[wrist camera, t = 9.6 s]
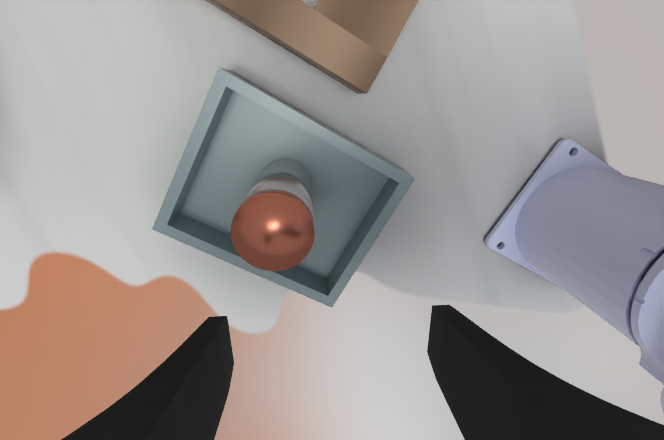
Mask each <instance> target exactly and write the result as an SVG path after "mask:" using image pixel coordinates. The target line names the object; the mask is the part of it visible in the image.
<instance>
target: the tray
mask: <svg viewBox="0 0 664 440" xmlns="http://www.w3.org/2000/svg"><path fill="white" fill-rule="evenodd" d="M283 158H287V159H293V160H296V161H298V162H299V163H301V164H302V165H304V166H305V167H306V168H307V170H308V171H309V173H310V175H311V177H312V181H313V203H314V231H315V235H314V242H313V246H312V248H311V250H310V252H309V254H308V255H307V256H306V257H305V258H304V260H302V261H301V262H300V263H299V264H297V265H296V266H294V267H291V268H289V269H286V270H281V271H267V270H262V269H259V268H256V267H254V266H252V265H250V264H249V263H247V262H246V261H245V260H244V259H242V258H241V256H240V255H239V254H238V253H237V251H236V250H235V248H234V246H233V243H232V240H231V233H230V229H231V223H232V219H233V217H234V215H235V213H236V212H237V210H238V208H239V207H240V205H241V204H242V202H243V200H244V199H245V197H246V196H247V194H248V192H249V191H250V189H251V188H252V186H253V185H254V183H255V181H256V180H257V178H258V177H259V175H260V173H261V172H262V170H263V169H264V168H265V166H267V165H268V164H269V163H270V162H272V161H274V160H277V159H283ZM413 181H414V178H413V177H412V176H410V175H409V174H408V173H407V172H405V171H404V170H403V169H401V168H399V167H398V166H396V165H394V164H392V163H391V162H389V161H387V160H385V159H384V158H382V157H380V156H378V155H377V154H375V153H373V152H371V151H370V150H368V149H366V148H365V147H363V146H361V145H359V144H358V143H356V142H354V141H352V140H351V139H349V138H347V137H345V136H344V135H342V134H340V133H338V132H337V131H335V130H333V129H331V128H330V127H328V126H326V125H324V124H323V123H321V122H319V121H317V120H316V119H314V118H312V117H310V116H309V115H307V114H305V113H303V112H302V111H300V110H298V109H296V108H295V107H293V106H291V105H289V104H288V103H286V102H284V101H282V100H281V99H279V98H277V97H275V96H274V95H272V94H270V93H268V92H267V91H265V90H263V89H261V88H260V87H258V86H256V85H254V84H253V83H251V82H249V81H247V80H246V79H244V78H242V77H240V76H239V75H237V74H235V73H233V72H232V71H229V70H226V69H222V68H219V69H218V72H217V74H216V76H215V79H214V81H213V84H212V86H211V88H210V91H209V93H208V96H207V98H206V100H205V103H204V105H203V108H202V110H201V113H200V115H199V117H198V120H197V122H196V125H195V127H194V129H193V132H192V134H191V137H190V139H189V141H188V144H187V146H186V149H185V151H184V154H183V156H182V158H181V161H180V163H179V166H178V168H177V170H176V173H175V175H174V178H173V180H172V182H171V185H170V187H169V190H168V192H167V195H166V197H165V199H164V202H163V204H162V207H161V209H160V211H159V214H158V216H157V219H156V221H155V223H154V226H153V228H152V229H153V230H155V231H158V232H160V233H162V234H165V235H167V236H169V237H172V238H174V239H176V240H178V241H181V242H183V243H185V244H188V245H190V246H192V247H194V248H197V249H199V250H201V251H204V252H206V253H208V254H211V255H213V256H215V257H217V258H220V259H222V260H224V261H227V262H229V263H231V264H233V265H236V266H238V267H240V268H243V269H245V270H247V271H249V272H252V273H254V274H256V275H259V276H261V277H263V278H266V279H268V280H270V281H272V282H275V283H277V284H279V285H282V286H284V287H286V288H288V289H291V290H293V291H296V292H298V293H300V294H302V295H305V296H307V297H309V298H311V299H314V300H316V301H318V302H321V303H323V304H325V305H327V306H330V307H333V305H334V303H335V302H336V300H337V299H338V297H339V296H340V294H341V293H342V291H343V289H344V288H345V286H346V285H347V283H348V282H349V280H350V279H351V277H352V275H353V274H354V272H355V271H356V269H357V268H358V266H359V265H360V263H361V261H362V260H363V258H364V257H365V255H366V254H367V252H368V251H369V249H370V247H371V246H372V244H373V243H374V241H375V240H376V238H377V237H378V235H379V233H380V232H381V230H382V229H383V227H384V226H385V224H386V223H387V221H388V219H389V218H390V216H391V215H392V213H393V212H394V210H395V209H396V207H397V205H398V204H399V202H400V201H401V199H402V198H403V196H404V195H405V193H406V191H407V190H408V188H409V187H410V185H411V184H412V182H413Z"/></svg>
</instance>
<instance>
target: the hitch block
mask: <svg viewBox="0 0 664 440" xmlns="http://www.w3.org/2000/svg"><path fill="white" fill-rule="evenodd" d="M206 1H208V2H210V3H211V4H213V5H214V6H216V7H218V8H219V9H221V10H223V11H224V12H226V13H228V14H229V15H231V16H232V17H234V18H236V19H237V20H239V21H241V22H242V23H244V24H246V25H247V26H249V27H250V28H252V29H254V30H255V31H257V32H259V33H260V34H262V35H264V36H265V37H267V38H268V39H270V40H272V41H273V42H275V43H277V44H278V45H280V46H282V47H283V48H285V49H286V50H288V51H290V52H291V53H293V54H295V55H296V56H298V57H300V58H301V59H303V60H304V61H306V62H308V63H309V64H311V65H313V66H314V67H316V68H318V69H319V70H321V71H322V72H324V73H326V74H327V75H329V76H331V77H332V78H334V79H336V80H337V81H339V82H340V83H342V84H344V85H345V86H347V87H349V88H350V89H352V90H354V91H355V92H357V93H367V92H368V90H369V89H370V87H371V85H372V83H373V81H374V80H375V78H376V76H377V74H378V72H379V71H380V69H381V67H382V65H383V63H384V62H385V60H386V58H387V56H388V54H389V52H390V51H391V49H392V47H393V45H394V43H395V42H396V40H397V38H398V36H399V34H400V33H401V31H402V29H403V27H404V25H405V24H406V22H407V20H408V18H409V16H410V15H411V13H412V11H413V9H414V7H415V5H416V4H417V2H418V0H319V2H318V4H317V6H316V8H315V10H314V9H313V8H311V7H310V6H308V5H307V4H305V3H304V2H302V1H301V0H206Z"/></svg>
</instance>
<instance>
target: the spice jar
mask: <svg viewBox="0 0 664 440" xmlns="http://www.w3.org/2000/svg"><path fill="white" fill-rule="evenodd" d="M230 233H231V240H232V243H233V246H234V248H235V250H236V251H237V253H238V254H239V255H240V256H241V258H242V259H244V260H245V261H246V262H247V263H249V264H250V265H252V266H254V267H256V268H259V269H262V270H267V271H281V270H286V269H289V268H291V267H294V266H296V265H297V264H299V263H300V262H301V261H302V260H304V258H305V257H306V256H307V255H308V254H309V252H310V250H311V248H312V246H313V242H314V235H315V231H314V203H313V181H312V177H311V175H310V173H309V171H308V170H307V168H306V167H305V166H304V165H302V164H301V163H299V162H298V161H296V160H293V159H287V158H283V159H277V160H274V161H272V162H270V163H269V164H268V165H267V166H265V168H264V169H263V170H262V172H261V173H260V175H259V177H258V178H257V180H256V181H255V183H254V185H253V186H252V188H251V189H250V191H249V192H248V194H247V196H246V197H245V199H244V200H243V202H242V204H241V205H240V207H239V208H238V210H237V212H236V213H235V215H234V217H233V219H232V223H231V229H230Z"/></svg>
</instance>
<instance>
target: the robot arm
mask: <svg viewBox="0 0 664 440" xmlns="http://www.w3.org/2000/svg"><path fill="white" fill-rule="evenodd" d="M572 148H573V152H572V153H571V154H569V151H570V150H571V149H572ZM500 242H502V243H501V245H500V246H499V247H497V245H498V243H500ZM485 244H486V245H487V246H488V247H489V248H490V249H492V250H494V251H496V252H498V253H499V254H501V255H503V256H505V257H507V258H509V259H510V260H512V261H514V262H516V263H518V264H520V265H521V266H523V267H525V268H527V269H529V270H530V271H532V272H534V273H536V274H538V275H540V276H541V277H543V278H545V279H547V280H549V281H551V282H552V283H554V284H556V285H558V286H560V287H562V288H563V289H565V290H566V291H567V292H569V293H570V294H571V295H573V296H574V297H575V298H577V299H578V300H579V301H580V302H582V303H583V304H584V305H586V306H587V307H588V308H590V309H591V310H592V311H594V312H595V313H596V314H598V315H599V316H600V317H601V318H603V319H604V320H606V321H607V322H608V323H609V324H611V325H612V326H613V327H615V328H616V329H617V330H619V331H620V332H621V333H622V334H624V335H625V336H626V337H628V338H629V339H630V340H632V341H633V342H634V343H636V344H637V345H638V346H639V347H640V349H641V359H640V363H639V364H640V366H642V367H643V368H644V369H645V370H647V371H648V372H649V373H650V374H651V375H653V376H654V377H655V378H656V379H658V380H659V381H660V382H661V383H662V384H664V186H663V185H659V184H656V183H651V182H648V181H644V180H640V179H636V178H632V177H628V176H624V175H622V174H621V173H620V172H618V171H617V170H615V169H614V168H612V167H611V166H609V165H608V164H606V163H605V162H604V161H602V160H601V159H599V158H598V157H596V156H595V155H593V154H592V153H590V152H589V151H588V150H586V149H585V148H583V147H582V146H580V145H579V144H577V143H576V142H575V141H573V140H571V139H562V140H560V141H559V142H558V143H557V144H556V146H555V147H554V148H553V150H552V151H551V152H550V154H549V155H548V156H547V158H546V159H545V160H544V162H543V163H542V164H541V166H540V167H539V168H538V170H537V171H536V172H535V174H534V175H533V176H532V178H531V179H530V180H529V182H528V183H527V184H526V186H525V187H524V188H523V190H522V191H521V192H520V193H519V195H518V196H517V197H516V199H515V200H514V201H513V203H512V204H511V205H510V207H509V208H508V209H507V211H506V212H505V213H504V215H503V216H502V217H501V219H500V220H499V221H498V223H497V224H496V225H495V227H494V228H493V229H492V231H491V232H490V233H489V235H488V236H487V237H486V239H485ZM427 352H428V356H429V359H430V362H431V365H432V368H433V371H434V374H435V377H436V380H437V382H438V384H439V386H440V388H441V390H442V392H443V394H444V397H445V399H446V401H447V403H448V405H449V407H450V410H451V412H452V413H453V416H454V418H455V420H456V422H457V424H458V426H459V428H460V430H461V433H462V434H463V437H464V439H465V440H664V425H662V424H659V423H656V422H654V421H651V420H649V419H646V418H644V417H642V416H639V415H637V414H634V413H632V412H629V411H627V410H625V409H622V408H620V407H618V406H615V405H613V404H611V403H609V402H606V401H604V400H602V399H599V398H598V397H596V396H593V395H591V394H589V393H587V392H585V391H583V390H581V389H579V388H577V387H575V386H573V385H571V384H569V383H567V382H565V381H563V380H562V379H560V378H558V377H556V376H554V375H553V374H551V373H549V372H547V371H546V370H544V369H542V368H540V367H538V366H537V365H535V364H533V363H532V362H530V361H528V360H527V359H525V358H524V357H522V356H521V355H519V354H517V353H516V352H515V351H513V350H511V349H510V348H508V347H507V346H506V345H504V344H503V343H501V342H500V341H498V340H497V339H495V338H494V337H493V336H491V335H490V334H488V333H487V332H486V331H484V330H483V329H482V328H480V327H479V326H477V325H476V324H475V323H473V322H472V321H471V320H469V319H468V318H467V317H465V316H464V315H463V314H461V313H460V312H459V311H457V310H456V309H454V308H453V307H451V306H450V305H438V306H432V314H431V323H430V332H429V341H428V351H427ZM233 365H234V360H233V354H232V347H231V340H230V333H229V326H228V319H227V316H218V317H209V318H208V319H207V320H205V321H204V323H203V324H201V326H199V327H198V329H196V331H195V332H194V333H193V334H192V335H191V336H190V337H189V338H188V339H187V340H186V341H185V342H184V343H183V344H182V345H181V346H180V347H179V348H178V349H177V350H176V351H175V352H174V353H172V354H171V355H170V356H169V357H168V358H167V359H166V360H165V361H164V362H163V363H162V364H161V365H160V366H159V367H157V368H156V369H155V370H154V371H153V372H152V373H151V374H150V375H149V376H148V377H146V378H145V379H144V380H143V381H142V382H141V383H139V384H138V385H137V386H136V387H134V388H133V389H132V390H131V391H130V392H128V393H127V394H126V395H124V396H123V397H122V398H121V399H119V400H118V401H117V402H115V403H114V404H113V405H111V406H110V407H109V408H107V409H106V410H105V411H103V412H102V413H100V414H99V415H97V416H96V417H94V418H93V419H92V420H90V421H88V422H87V423H86V424H84V425H83V426H81V427H80V428H78V429H77V430H76V431H74V432H72V433H71V434H70V435H68V436H66V437H65V438H63V439H62V440H214V438H215V435H216V431H217V428H218V425H219V422H220V419H221V415H222V412H223V409H224V405H225V402H226V399H227V396H228V392H229V387H230V382H231V377H232V371H233ZM661 405H662V409H663V412H664V387H663V390H662V392H661Z"/></svg>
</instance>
